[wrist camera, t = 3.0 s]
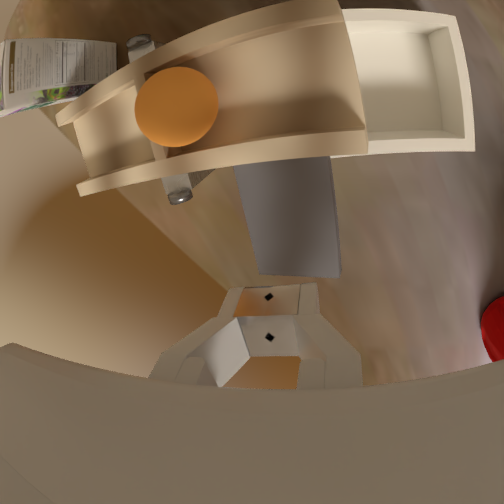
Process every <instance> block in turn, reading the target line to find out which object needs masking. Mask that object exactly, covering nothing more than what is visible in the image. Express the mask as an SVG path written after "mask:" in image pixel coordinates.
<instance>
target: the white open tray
mask: <svg viewBox="0 0 504 504" xmlns="http://www.w3.org/2000/svg"><path fill="white" fill-rule="evenodd" d="M341 10H342V13H343V17H344V20H345V24H346V27H347V31H348V35H349V39H350V43H351V47H352V51H353V55H354V60H355V64H356V69H357V74H358V79H359V84H360V89H361V95H362V100H363V106H364V113H365V119H366V127H367V134H368V142H369V145H368V154H357V155H336V156H330V158H336V157H347V156H358V155H370V154H385V153H403V152H431V151H475V133H474V117H473V106H472V96H471V88H470V81H469V75H468V69H467V63H466V58H465V53H464V49H463V44H462V40H461V36H460V32H459V28H458V24H457V21H456V18H455V16H451V15H445V14H439V13H432V12H424V11H414V10H401V9H375V8H364V9H341Z"/></svg>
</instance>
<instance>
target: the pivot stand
mask: <svg viewBox="0 0 504 504" xmlns="http://www.w3.org/2000/svg"><path fill="white" fill-rule="evenodd" d="M126 44H127V48H128V51H130V52H128V56H129V61H130V63H131V62H133V61H135V60H137V59H138V58H140V57H142V56H144V55H146V54H147V53H149V52H151V51H153V50H155V49H157V48H159V47H161V46H163V45H165V43H161V42H157V41H152V40H151V36H150V35H149V34H142V35H138V36H135V37H133V38H131V39H129V40H128V41H127V42H126ZM215 169H216V168H214V169H208V170H201V171H195V172H190V173H184V174H178V175H173V176H168V177H163V178H161V179H162V182H163V185H164V188H165V192H166V194H168V198H169V201H170V204H171V205H176V204H180V203H183V202H186V201H188V200H190V199H191V198H192V197H193V195H192V192H191V189H193V188H194V187H195V186H196V185H197V184H198V183H200V182H201V181H202V180H203V179H204V178H205V177H207V176H208V175H209V174H210V173H211V172H213V171H214V170H215Z"/></svg>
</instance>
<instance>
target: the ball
mask: <svg viewBox="0 0 504 504" xmlns="http://www.w3.org/2000/svg"><path fill="white" fill-rule="evenodd" d="M218 105H219V104H218V96H217V92H216V90H215V87H214V86H213V84H212V82H211V81H210V80H209V79H208V78H207V77H206V76H205V75H204V74H202V73H200V72H199V71H196V70H194V69H191V68H187V67H171V68H167V69H164V70H161V71H159V72H157V73H156V74H154V75H153V76H151V77H150V78H149V79H148V80H147V81H146V82H145V83H144V84H143V85H142V87H141V88H140V90H139V92H138V94H137V97H136V100H135V107H134V112H135V118H136V122H137V124H138V127H139V128H140V130H141V131H142V133H143V134H144V135H145V136H146V137H147V138H148V139H150V140H151V141H153V142H155V143H157V144H159V145H162V146H167V147H180V146H185V145H188V144H191V143H193V142H195V141H197V140H199V139H200V138H201V137H203V136H204V135H205V134H206V133H207V132H208V131H209V130H210V128H211V127H212V125H213V123H214V121H215V119H216V117H217V113H218Z"/></svg>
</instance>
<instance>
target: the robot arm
mask: <svg viewBox="0 0 504 504" xmlns="http://www.w3.org/2000/svg"><path fill="white" fill-rule="evenodd" d="M250 356H299V357H300V359H301V360H302V361H301V362H300V367H299V375H298V383H297V389H295V390H293V389H292V390H291V389H289V390H285V389H284V390H283V389H281V390H280V389H246V388H228V387H222V386H223V385H224V384H225V383H226V382H227V381H228V380H229V379H230V378H231V377H232V376H233V375H234V374H235V373H236V372H237V371H238V370H239V369H240V367H242V366H243V365H244V363H245V362H246V361H247V360H248V359H249V358H250ZM0 504H504V359H503V360H499V361H496V362H493V363H489V364H485V365H482V366H478V367H474V368H470V369H466V370H462V371H457V372H453V373H448V374H443V375H438V376H433V377H427V378H422V379H416V380H409V381H403V382H395V383H388V384H379V385H370V386H363V382H362V368H361V356H360V354H359V353H358V352H357V350H356V349H355V348H354V347H353V346H352V345H351V344H350V343H349V342H348V341H347V340H346V339H345V338H344V337H343V336H342V335H341V334H340V333H339V332H338V331H337V330H336V329H335V328H334V327H333V326H332V325H331V324H330V323H329V322H328V321H327V320H326V319H325V318H324V317H323V316H322V315H321V314H320V309H319V298H318V288H317V283H316V282H311V283H302V284H295V285H283V286H261V287H245V288H244V287H238V288H231V289H229V291H228V293H227V295H226V298H225V300H224V302H223V304H222V307H221V309H220V312H219V314H218V316H217V317H216V318H212V319H210V320H209V321H207V322H206V323H205V324H203V325H202V326H200V327H199V328H198V329H196V330H195V331H193V332H192V333H190V334H189V335H187V336H186V337H184V338H183V339H182V340H180V341H179V342H177V343H176V344H174V345H173V346H171V347H170V348H169V349H167V350H166V351H164V352H163V353H161V355H160V357H159V359H158V361H157V363H156V364H155V366H154V368H153V370H152V372H151V374H150V375H149V377H148V378H144V377H139V376H133V375H128V374H123V373H118V372H113V371H109V370H104V369H100V368H95V367H91V366H87V365H83V364H79V363H75V362H72V361H68V360H65V359H61V358H58V357H54V356H51V355H48V354H44V353H42V352H39V351H35V350H32V349H30V348H27V347H23V346H21V345H19V344H16V343H9V344H7V345H5V346H3V347H0Z"/></svg>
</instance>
